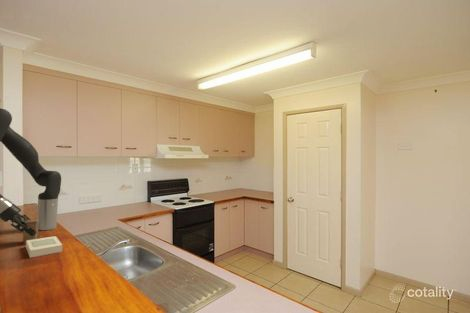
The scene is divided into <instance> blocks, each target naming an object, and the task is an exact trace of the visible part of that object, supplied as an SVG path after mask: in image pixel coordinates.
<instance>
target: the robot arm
mask: <svg viewBox="0 0 470 313" xmlns="http://www.w3.org/2000/svg"><path fill="white" fill-rule="evenodd" d="M12 121H13V116H12V113H11V112H10V111H8V110H7V109H5V108H1V107H0V143H1V144H3V146H4V147H5V148H6V149H7V150H8V151H9V152H10V153H11V155H12V156H13V157H14V158H15V159H16V160H17V161H18V162H19V163H20V164H21V165H22V166H23V167H24V168H25V169H26V171H27V172H28V173H29V174H30V175H31V177H32V179H33V180H34V182H35V183H36V184H37V185H38V186H40V187H45V190H44V191H43V192H40V193H39V194H38V195H37V210H36V211H37V213H36V214H37V215H36V220H39V225H38V232H39V231H49V230H54V229H57V221H58V207H59V206H58V205H59V204H58V203H59V195H60V193H61V185H62V174H60V172H59V171H57V170H46V169H45V168H44V167H43V165H42V164H41V163H40V161H39V152H38V151H37V150H36V148H35V147H34V145H32V143H30V141H29V140H27V139H26V138H25V137H23V136H22V135H21V134H19V133H18V132H16V131H15V130H14V129H13V128H11V124H12ZM21 212H22V209H21V208H20V207H18V206H17V205H16V204H14V203H13V201H11V200H9V199H8V198H6V197H4V196H3V195H2V194H1V193H0V220H1V221H3V222H4V223H7V222H9V221H10V222H11V223H10V226H12V227H13V228H15V229H16V230H18V231H20V232H22V233H24V232H25V231H26V232H27V233H28V234H29V235H31V236H34V235H35V234H36V232H35V231H34V230H33V229H31V228H30V227H29V226H28V225H27V223H26V221H29V220H31V219H30V218H29V217H28V216H27V214H23V215H22V214H20V213H21Z"/></svg>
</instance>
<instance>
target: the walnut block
mask: <svg viewBox="0 0 470 313" xmlns="http://www.w3.org/2000/svg"><path fill="white" fill-rule="evenodd" d="M26 223H27V225H28V226H29V227H30V228H31V229H33V230H34V231H35V232H36V234H35V235H34V236H31V235H29V234H28V233H27V232H26V231H25V232H24V231H23V232H22V233H23V238H22V244H23V245H26V240H33V239H39V231H38V225H39V220H37V219H30V220H29V221H26Z"/></svg>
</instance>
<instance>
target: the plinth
mask: <svg viewBox="0 0 470 313" xmlns="http://www.w3.org/2000/svg"><path fill="white" fill-rule="evenodd" d="M25 248H26V251H27V254H28V256H29V259H31V258H32V259H33V258H37V257H42V256H47V255H53V254H58V253H62V252H63V244H62V242H61V240H59V238H58V237H57V236H55V235H54V236H47V237H42V238H38V239H33V240H26V244H25Z"/></svg>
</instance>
